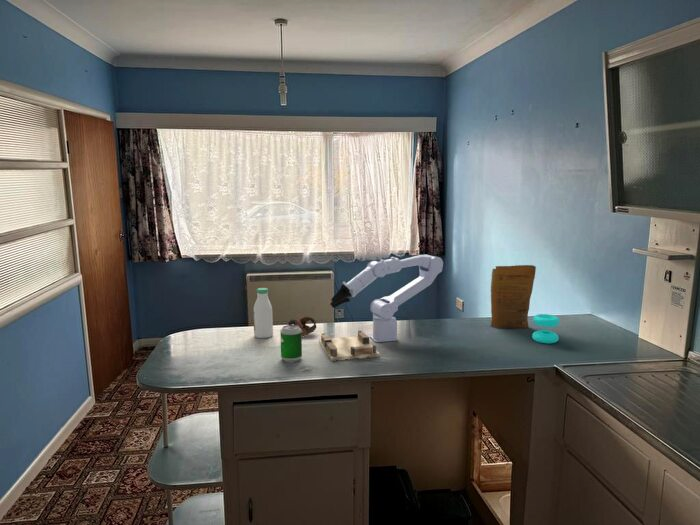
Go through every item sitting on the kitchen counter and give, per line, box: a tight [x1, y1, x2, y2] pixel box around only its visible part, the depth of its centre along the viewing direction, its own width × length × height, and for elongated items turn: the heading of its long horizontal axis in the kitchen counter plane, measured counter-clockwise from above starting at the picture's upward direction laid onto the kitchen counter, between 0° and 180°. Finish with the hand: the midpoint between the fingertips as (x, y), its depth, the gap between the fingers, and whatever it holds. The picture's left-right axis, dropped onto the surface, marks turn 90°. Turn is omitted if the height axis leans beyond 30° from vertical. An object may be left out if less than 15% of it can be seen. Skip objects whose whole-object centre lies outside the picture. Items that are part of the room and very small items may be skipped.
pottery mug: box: [287, 315, 317, 337], centre depth 208 cm, size 12×10×8 cm
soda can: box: [280, 324, 303, 363], centre depth 177 cm, size 8×8×12 cm
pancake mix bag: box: [490, 264, 537, 330], centre depth 216 cm, size 7×19×28 cm, turn 86°
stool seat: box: [318, 330, 381, 362], centre depth 189 cm, size 18×22×4 cm
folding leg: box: [320, 334, 332, 347], centre depth 191 cm, size 8×3×3 cm, turn 15°
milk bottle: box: [253, 287, 274, 339], centre depth 204 cm, size 8×8×20 cm
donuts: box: [531, 313, 561, 344], centre depth 199 cm, size 10×10×10 cm
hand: (332, 303), depth 190 cm, fingers open, 7 cm apart
